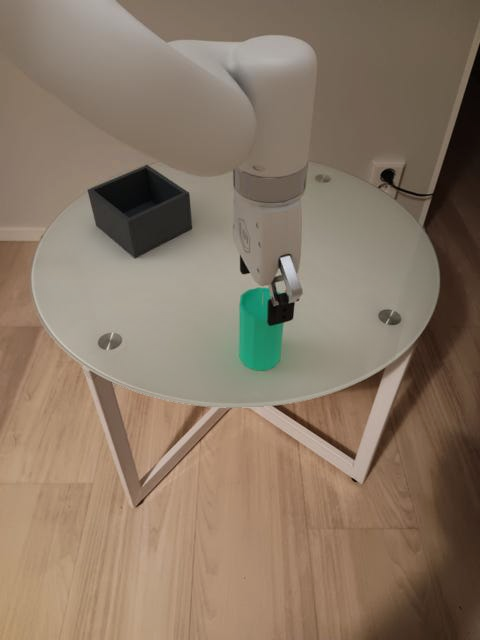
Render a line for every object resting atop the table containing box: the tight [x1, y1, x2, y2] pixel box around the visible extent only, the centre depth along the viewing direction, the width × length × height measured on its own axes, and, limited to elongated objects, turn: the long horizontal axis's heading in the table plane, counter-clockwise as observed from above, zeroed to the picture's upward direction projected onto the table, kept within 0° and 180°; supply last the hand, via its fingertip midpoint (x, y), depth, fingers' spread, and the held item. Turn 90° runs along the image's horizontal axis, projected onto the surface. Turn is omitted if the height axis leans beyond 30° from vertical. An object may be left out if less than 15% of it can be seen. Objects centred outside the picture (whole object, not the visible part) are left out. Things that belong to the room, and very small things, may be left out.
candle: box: [238, 287, 284, 372], centre depth 68 cm, size 6×6×12 cm
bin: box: [87, 164, 193, 259], centre depth 90 cm, size 13×13×8 cm
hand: (265, 295), depth 64 cm, fingers open, 9 cm apart
